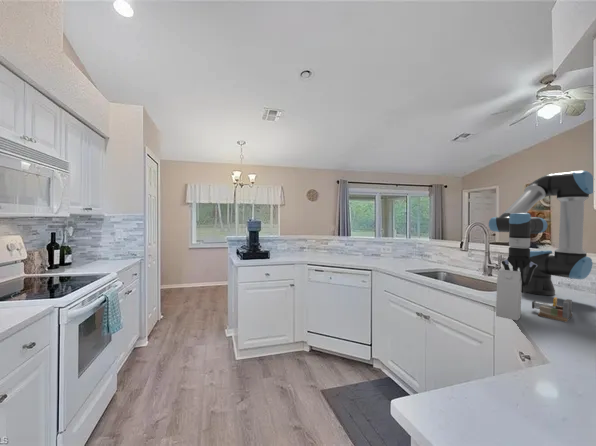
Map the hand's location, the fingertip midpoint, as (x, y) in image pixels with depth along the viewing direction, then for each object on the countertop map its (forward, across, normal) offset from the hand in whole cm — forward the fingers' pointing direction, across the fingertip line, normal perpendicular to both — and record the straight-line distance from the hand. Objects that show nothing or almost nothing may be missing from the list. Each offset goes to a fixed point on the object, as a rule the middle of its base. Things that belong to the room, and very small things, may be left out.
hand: (518, 299), depth 125 cm
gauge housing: (+4, +12, 0) cm, 13 cm away
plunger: (+3, +9, 0) cm, 9 cm away
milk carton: (+4, +1, -18) cm, 19 cm away
